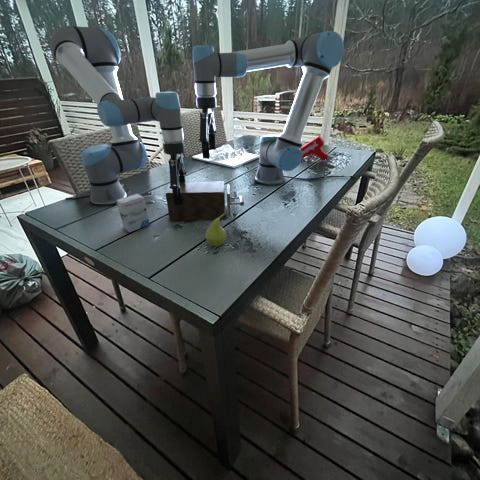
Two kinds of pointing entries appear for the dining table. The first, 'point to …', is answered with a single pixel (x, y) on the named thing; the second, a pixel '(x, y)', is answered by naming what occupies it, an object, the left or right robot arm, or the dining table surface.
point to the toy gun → (314, 149)
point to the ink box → (133, 212)
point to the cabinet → (197, 201)
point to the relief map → (228, 156)
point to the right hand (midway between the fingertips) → (209, 153)
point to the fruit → (216, 233)
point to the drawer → (232, 198)
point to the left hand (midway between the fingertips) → (180, 197)
